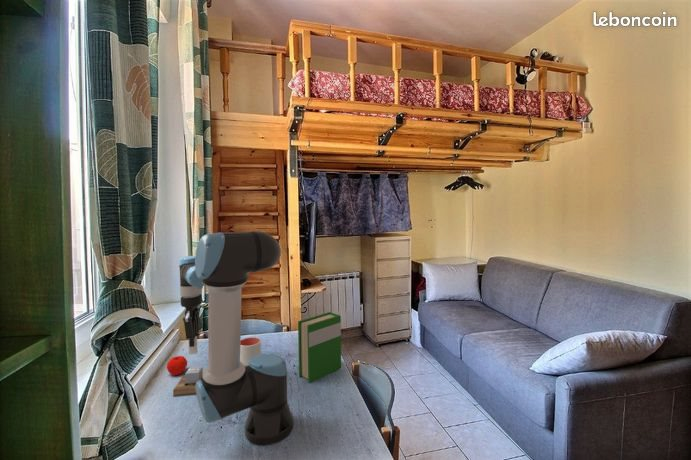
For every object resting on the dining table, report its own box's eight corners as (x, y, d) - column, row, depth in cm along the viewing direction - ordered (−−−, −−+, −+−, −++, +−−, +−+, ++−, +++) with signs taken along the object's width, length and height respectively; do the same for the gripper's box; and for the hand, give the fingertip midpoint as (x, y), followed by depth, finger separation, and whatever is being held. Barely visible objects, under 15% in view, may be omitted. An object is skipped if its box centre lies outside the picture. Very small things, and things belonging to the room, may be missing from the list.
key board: (249, 389, 123) (248, 383, 123) (173, 396, 119) (173, 390, 119) (253, 375, 134) (252, 369, 134) (183, 381, 130) (183, 375, 130)
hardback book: (309, 383, 127) (308, 325, 126) (299, 376, 133) (298, 321, 132) (341, 368, 140) (340, 315, 138) (330, 362, 145) (329, 311, 144)
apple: (181, 367, 142) (180, 351, 142) (191, 371, 138) (191, 355, 138) (163, 375, 135) (162, 358, 135) (173, 380, 131) (173, 362, 131)
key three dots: (199, 382, 123) (198, 372, 123) (185, 383, 123) (185, 373, 122) (202, 375, 128) (202, 365, 128) (189, 377, 127) (189, 367, 127)
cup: (264, 357, 151) (263, 337, 150) (256, 368, 141) (255, 346, 140) (244, 357, 152) (243, 337, 151) (235, 367, 142) (234, 345, 141)
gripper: (196, 299, 118) (198, 360, 119) (205, 290, 131) (207, 345, 132) (174, 300, 117) (177, 361, 118) (186, 291, 129) (188, 346, 131)
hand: (193, 353), depth 125 cm, fingers closed
